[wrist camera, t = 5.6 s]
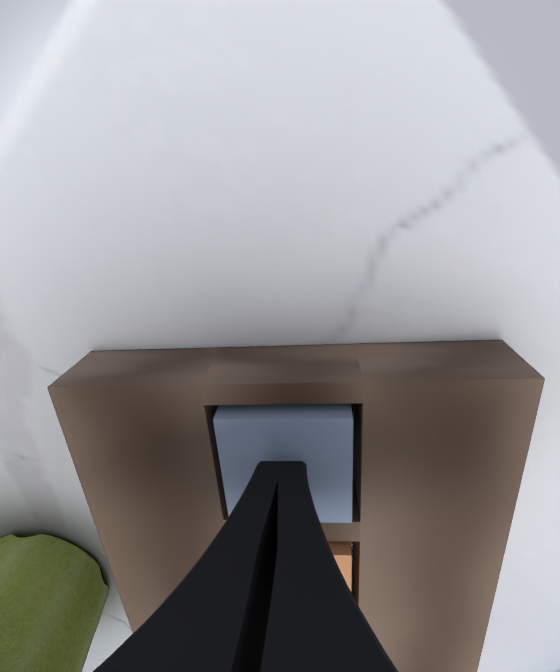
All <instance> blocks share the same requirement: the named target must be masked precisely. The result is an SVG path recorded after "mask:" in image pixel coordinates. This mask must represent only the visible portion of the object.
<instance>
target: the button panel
mask: <svg viewBox="0 0 560 672" xmlns="http://www.w3.org/2000/svg"><path fill="white" fill-rule="evenodd" d="M544 380H545V378H544V377H543V376H542V375H540V374H539V373H538V372H537V371H536V370H535V369H534V368H533V367H532V366H530V365H529V364H528V363H527V362H526V361H525V360H524V359H523V358H522V357H520V356H519V355H518V354H517V353H516V352H515V351H514V350H513V349H512V348H510V347H509V346H508V345H507V344H506V343H505V342H504V341H503V340H485V341H448V342H412V343H375V344H339V345H302V346H265V347H229V348H192V349H155V350H119V351H91V352H90V353H89V354H87V355H86V356H85V357H84V358H82V359H81V360H80V361H79V362H78V363H76V364H75V365H74V366H73V367H71V368H70V369H69V370H68V371H67V372H65V373H64V374H63V375H62V376H60V377H59V378H58V379H57V380H56V381H54V382H53V383H52V384H51V385H49V386H48V387H47V388H48V391H49V394H50V397H51V400H52V402H53V405H54V408H55V411H56V414H57V417H58V420H59V422H60V425H61V428H62V431H63V434H64V437H65V440H66V443H67V445H68V448H69V451H70V454H71V457H72V460H73V463H74V465H75V468H76V471H77V474H78V477H79V480H80V483H81V486H82V488H83V491H84V494H85V497H86V500H87V503H88V506H89V508H90V511H91V514H92V517H93V520H94V523H95V526H96V529H97V531H98V534H99V537H100V540H101V543H102V546H103V549H104V551H105V554H106V557H107V560H108V563H109V566H110V569H111V572H112V574H113V577H114V580H115V583H116V586H117V589H118V592H119V594H120V597H121V600H122V603H123V606H124V609H125V612H126V615H127V617H128V620H129V623H130V626H131V629H132V632H133V633H134V632H135V631H136V630H137V629H138V628H139V627H140V626H141V625H142V624H143V623H144V622H145V621H146V620H147V619H148V618H149V617H150V616H151V615H152V614H153V613H154V612H155V611H156V609H157V608H158V607H159V606H160V605H161V604H162V603H163V602H164V601H165V599H166V598H167V597H168V596H169V595H170V594H171V593H172V591H173V590H174V589H175V588H176V587H177V586H178V585H179V584H180V582H181V581H182V580H183V579H184V577H185V576H186V575H187V574H188V573H189V571H190V570H191V569H192V568H193V566H194V565H195V564H196V562H197V561H198V560H199V559H200V557H201V556H202V555H203V553H204V552H205V551H206V549H207V548H208V546H209V545H210V544H211V542H212V541H213V539H214V538H215V536H216V535H217V533H218V532H219V530H220V529H221V528H222V526H223V525H224V523H225V522H226V520H227V519H228V510H227V504H226V498H225V492H224V485H223V479H222V473H221V467H220V461H219V454H218V448H217V442H216V436H215V430H214V423H213V418H214V416H215V413H216V411H217V408H218V406H219V405H268V404H349V403H354V438H353V481H352V523H324V522H320V524H321V526H322V529H323V532H324V534H325V537H326V539H327V541H352V583H351V593H352V595H353V596H354V598H355V600H356V602H357V604H358V606H359V608H360V610H361V611H362V613H363V615H364V616H365V618H366V620H367V621H368V623H369V625H370V627H371V628H372V630H373V632H374V633H375V635H376V637H377V638H378V640H379V642H380V643H381V645H382V647H383V648H384V650H385V652H386V653H387V655H388V656H389V658H390V659H391V661H392V663H393V664H394V666H395V667H396V669H397V670H398V672H477V669H478V665H479V661H480V656H481V652H482V648H483V644H484V639H485V635H486V631H487V626H488V622H489V618H490V613H491V609H492V605H493V600H494V596H495V592H496V587H497V583H498V579H499V574H500V570H501V566H502V561H503V557H504V553H505V549H506V544H507V540H508V536H509V531H510V527H511V523H512V518H513V514H514V510H515V505H516V501H517V497H518V492H519V488H520V484H521V479H522V475H523V471H524V466H525V462H526V458H527V453H528V449H529V445H530V441H531V436H532V432H533V428H534V423H535V419H536V415H537V410H538V406H539V402H540V397H541V393H542V389H543V384H544Z"/></svg>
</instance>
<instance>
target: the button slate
mask: <svg viewBox="0 0 560 672" xmlns="http://www.w3.org/2000/svg"><path fill="white" fill-rule="evenodd" d="M213 423H214V430H215V436H216V442H217V448H218V454H219V461H220V467H221V473H222V479H223V485H224V492H225V498H226V504H227V510H228V517H229V515H230V514H231V512H232V510H233V509H234V507H235V505H236V504H237V502H238V500H239V499H240V497H241V495H242V493H243V492H244V490H245V488H246V486H247V484H248V482H249V481H250V479H251V477H252V475H253V472H254V470H255V468H256V466H257V464H258V463H259V462H260V461H303V462H304V463H305V464H307V478H308V483H309V488H310V492H311V496H312V499H313V503H314V506H315V509H316V512H317V515H318V518H319V521H320V522H324V523H352V481H353V415H352V409H351V403H349V404H268V405H219V406H218V408H217V411H216V413H215V416H214V418H213Z"/></svg>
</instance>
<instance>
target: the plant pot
mask: <svg viewBox="0 0 560 672" xmlns="http://www.w3.org/2000/svg"><path fill="white" fill-rule="evenodd" d="M107 595H108V586H107V585H105V584H104V582H103V579H102V576H101V572H100V567H99V565H98V563H97V562H96V561H95V560H94V559H93V558H92V557H91V556H89V555H88V554H87V553H86V552H84V551H83V550H81V549H80V548H78V547H76V546H74V545H73V544H71V543H69V542H67V541H64V540H62V539H59V538H56V537H53V536H50V535H45V534H38V535H35V536H30V537H22V538H20V537H15V536H14V535H13V534H10V535H6V536H4V537H2V538H0V672H82V669H83V666H84V663H85V660H86V657H87V654H88V651H89V648H90V645H91V643H92V640H93V637H94V634H95V631H96V628H97V626H98V623H99V620H100V617H101V614H102V610H103V607H104V604H105V601H106V598H107Z"/></svg>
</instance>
